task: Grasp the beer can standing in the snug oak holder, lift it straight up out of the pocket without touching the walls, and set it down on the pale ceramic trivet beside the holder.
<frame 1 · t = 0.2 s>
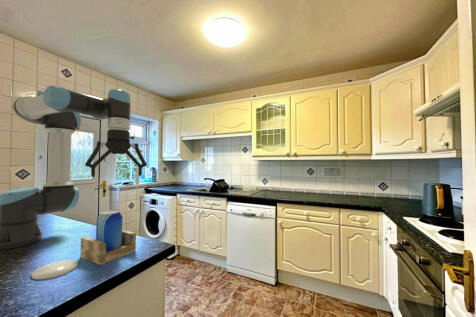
hand: (117, 185, 78), 26 cm above the counter, fingers open, 13 cm apart
oak holder: (108, 253, 77), on the counter
trivet: (55, 269, 65), on the counter
beer can: (108, 254, 77), resting in oak holder
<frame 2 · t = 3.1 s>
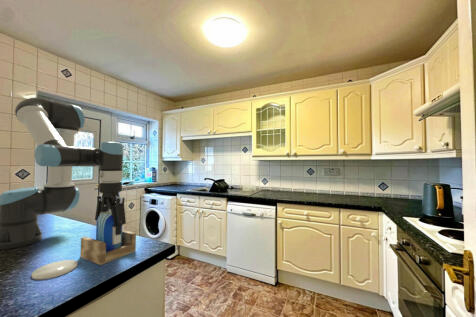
hand: (109, 241, 77), 5 cm above the counter, fingers closed on beer can, 8 cm apart
beer can: (108, 254, 77), resting in oak holder, touching gripper
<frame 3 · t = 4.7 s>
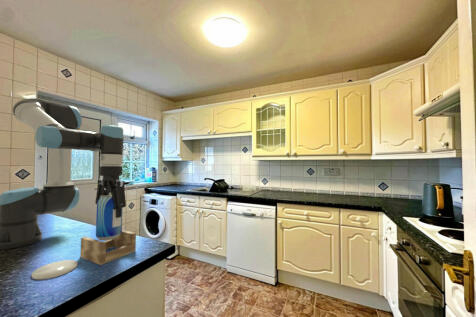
hand: (109, 224, 77), 11 cm above the counter, fingers closed on beer can, 8 cm apart
beer can: (109, 237, 77), point 6 cm above the counter, touching gripper
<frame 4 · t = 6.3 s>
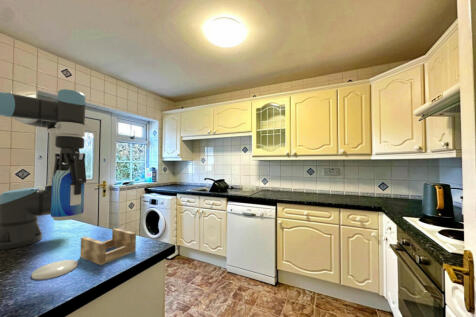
hand: (68, 203, 68), 21 cm above the counter, fingers closed on beer can, 8 cm apart
beer can: (67, 218, 68), point 16 cm above the counter, touching gripper
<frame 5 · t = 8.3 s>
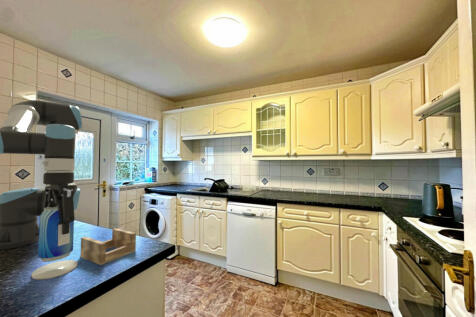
hand: (56, 241, 65), 9 cm above the counter, fingers closed on beer can, 8 cm apart
beer can: (56, 257, 65), point 4 cm above the counter, touching gripper
when the fingers open (7 cm above the counter, at t = 9.6 s): beer can drops 1 cm, resting on trivet.
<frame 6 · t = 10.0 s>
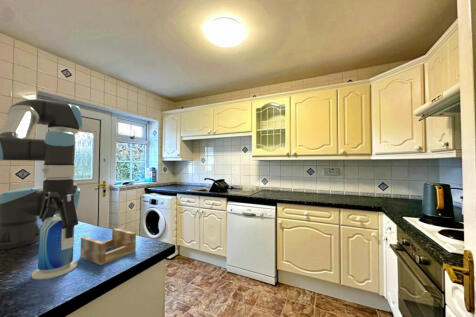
hand: (56, 244, 65), 8 cm above the counter, fingers open, 13 cm apart
beer can: (55, 268, 65), resting on trivet
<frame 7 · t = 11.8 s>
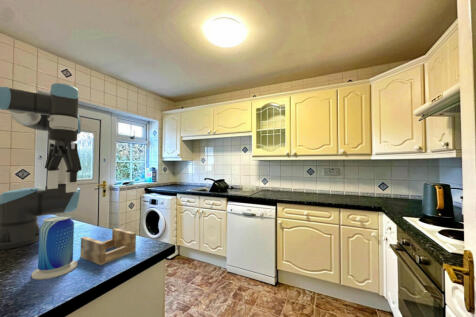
hand: (61, 190, 70), 25 cm above the counter, fingers open, 13 cm apart
nothing on the counter moved.
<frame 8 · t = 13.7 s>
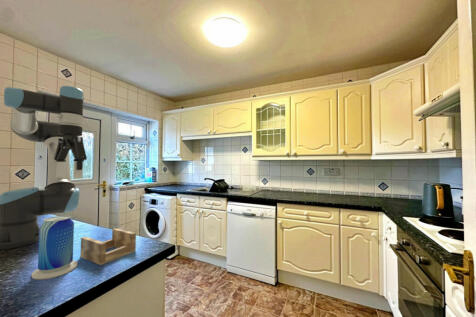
hand: (69, 178, 81), 29 cm above the counter, fingers open, 13 cm apart
nothing on the counter moved.
at the end: beer can inside the target area on the trivet (0.2 cm from its centre), point 0.4 cm above the trivet's base; beer can tilted 0°; the gripper is holding nothing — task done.
